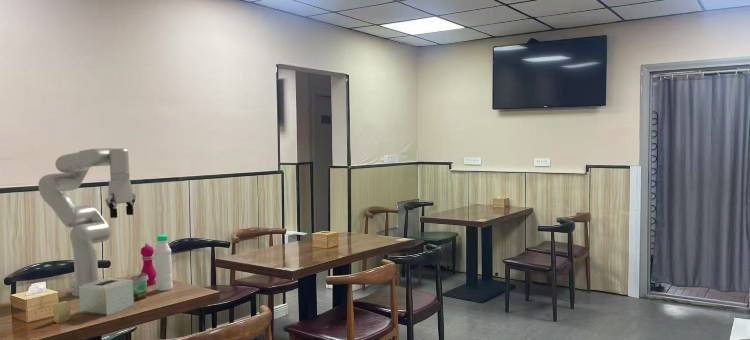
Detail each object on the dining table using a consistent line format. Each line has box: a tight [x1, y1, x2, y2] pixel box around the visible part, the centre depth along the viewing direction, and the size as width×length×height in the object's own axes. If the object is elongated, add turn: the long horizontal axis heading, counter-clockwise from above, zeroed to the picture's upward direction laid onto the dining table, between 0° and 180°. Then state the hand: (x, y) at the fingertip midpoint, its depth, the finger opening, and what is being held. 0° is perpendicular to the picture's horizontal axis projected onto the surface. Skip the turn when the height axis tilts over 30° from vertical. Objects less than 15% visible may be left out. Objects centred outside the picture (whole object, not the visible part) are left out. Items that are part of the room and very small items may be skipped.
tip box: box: [79, 277, 135, 317], centre depth 234 cm, size 14×14×11 cm
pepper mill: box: [139, 242, 157, 287], centre depth 275 cm, size 7×7×20 cm
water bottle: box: [154, 234, 174, 292], centre depth 264 cm, size 7×7×25 cm
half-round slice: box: [127, 272, 149, 302], centre depth 249 cm, size 12×6×10 cm, turn 168°
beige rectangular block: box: [52, 300, 71, 324], centre depth 220 cm, size 2×5×7 cm, turn 158°
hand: (122, 216), depth 249 cm, fingers open, 9 cm apart
